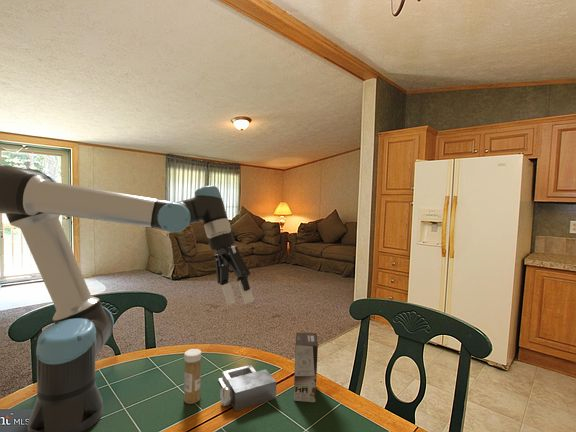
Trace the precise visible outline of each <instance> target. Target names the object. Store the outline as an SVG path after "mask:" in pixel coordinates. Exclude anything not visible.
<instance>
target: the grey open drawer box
mask: <svg viewBox="0 0 576 432" xmlns="http://www.w3.org/2000/svg"><path fill="white" fill-rule="evenodd" d="M221 372H222V373H221V377H220V378H218V379H217V381H218V383H219V385H220V387H221V388H220V391H219V396H220V402H221V405H222V407H226V406H230V405H231V406H232V408H233V411H234V412H237V411H241V410H244V409H247V408H250V407H253V406H257V405H260V404H263V403H266V402H270V401H273V400H276V399H277V380H276V379H275V378H274V377H273V376H272V374H271V373H270V372H269V371H268V370H267V369H262V370H259V371H256V369H255V368H254V367H253V366H252V364H248V365H244V366H240V367H236V368H232V369H228V370H224V371H221Z"/></svg>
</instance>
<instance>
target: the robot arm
mask: <svg viewBox="0 0 576 432" xmlns="http://www.w3.org/2000/svg"><path fill="white" fill-rule="evenodd" d="M0 214H5V215H6V218H7V221H8V222H9V224H10V225H11V226H12V227H15V228H18V229H19V230H20V231H21V233H22V235H23V238H24V239H25V242H26V245H27V247H28V250H29V251H30V253H31V254H30V255H31V256H32V258H33V260H34V263H35V265H36V267H37V269H38V271H39V274H40V276H41V279H42V280H43V282H44V285H45V287H46V290H47V292H48V294H49V296H50V299H51V301H52V303H53V305H54V309H55V313H54V315H53V317H52V321H53V324H51V325H49V326H48V327H46V328H45V329H44V330H42V331H41V333H40V334H39V336H38V338H37V340H36V343H37V344H36V348H35V355H36V390H37V393H36V395H37V398H36V400H35V402H34V406H33V408H32V411H31V412H30V416H29V419H28V422H27V432H86V431H87V430H89V429H90V428H92V427H93V426H94V425H95V424H97V423H98V421H100V419H101V417H102V416H103V414H104V401H103V397H102V395H101V392H100V391H99V388H98V386H97V383H96V358H97V356H98V354H99V353H100V352H101V350H102V348H103V347H104V345H105V344H106V343H107V342H108V340H109V339H110V338H111V336H112V334H113V330H114V327H115V321H114V320H115V319H114V317H113V314H112V312H111V311H110V310H109V309H108V308H107V307H104V306H103V305H102V302H101V299H100V298H99V297H96V296H93V295H91V292H90V290H89V288H88V284H87V282H86V280H85V278H84V276H83V273H82V271H81V269H80V265H79V263H78V261H77V259H76V256H75V254H74V251H73V249H72V247H71V244H70V242H69V240H68V238H67V234H66V232H65V231H64V227H63V226H62V223H61V221H60V216H63V217H64V216H66V217H72V218H78V219H79V218H80V219H86V220H87V219H89V220H94V221H100V222H109V223H114V224H115V223H116V224H122V225H130V226H131V225H132V226H138V227H145V228H146V227H147V228H153V229H156V230H157V229H158V230H163V231H166V232H167V233H180V232H182V231H183V230H185V229H186V228H187V227H188V226H189V225H192V224H195V223H200V222H202V224H203V228H204V231H205V234H206V238H208V245H209V248H210V250H211V251H212V252H217V254H214V255H213V258H214V263H215V272H216V279H217V280H216V281H217V284H218V285H219V284H220V286H221V288H222V289H221V290H222V291H223V295H224V299H225V303H226V305H227V306H230V305H233V304H235V303H236V302H237V301H236V298H235V293H234V291H233V287H232V284H231V281H230V279H229V273H230V272H229V269H230V268H231V270H232V272H233V273H234V274H235V276H236V277H237V279H236V281H237V283H238V286H239V290H240V293H241V296H242V299H243V303H244V305H247V304H249V303H251V302H254V301H255V298H254V295H253V292H252V288H251V286H250V283H249V279H248V278H249V276H251V272H250V270H249V268H248V267H247V264H246V262H245V261H244V259H243V257H242V255H241V254H240V251H239V249H238V246H237V245H235V244H236V241H235V238H234V235H233V233H232V232H231V231H232V228H231V222H230V221H229V219H228V215H227V211H226V208H225V204H224V200H223V198H222V195H221V192H220V190H219V188H218V186H216V185H205V186H202V187H201V188H197V189H196V190H195V192H194V197H191V198H188V199H185V200H179V201H170V200H164V199H157V198H152V197H146V196H139V195H134V194H127V193H121V192H116V191H111V190H104V189H98V188H93V187H87V186H86V187H85V186H80V185H74V184H67V183H62V182H57V181H56V180H55V179H54V178H53V177H52V176H50V175H48V174H47V173H45V172H43V171H40V170H38V169H34V168H33V169H32V168H23V167H18V166H12V165H7V164H5V165H4V164H1V165H0Z"/></svg>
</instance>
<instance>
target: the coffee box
mask: <svg viewBox="0 0 576 432" xmlns="http://www.w3.org/2000/svg"><path fill="white" fill-rule="evenodd" d="M294 346H295V349H294V375H293V376H294V377H293V378H294V379H293V401H295V402H307V403H315V402H316V396H317V395H316V394H317V375H318V353H319V351H318V348H319V341H318V335H317V333H316V332H298V331H297V332H296V335H295V345H294Z"/></svg>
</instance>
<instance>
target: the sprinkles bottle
mask: <svg viewBox="0 0 576 432" xmlns="http://www.w3.org/2000/svg"><path fill="white" fill-rule="evenodd" d="M183 355H184V357H183V358H184V359H183V360H184V372H183V373H184V378H183V383H184V385H183V390H184V391H183V392H184V397H183V401H184V402H185V403H186V404H189V405H191V404H196V403H198V402H199V401H200V400H201V383H202V382H201V381H202V379H201V377H202V376H201V371H202V370H201V368H202V367H201V365H202V364H201V361H202V350H201V349H199V348H190V349H187V350H186V351H185V352H184V354H183Z"/></svg>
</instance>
